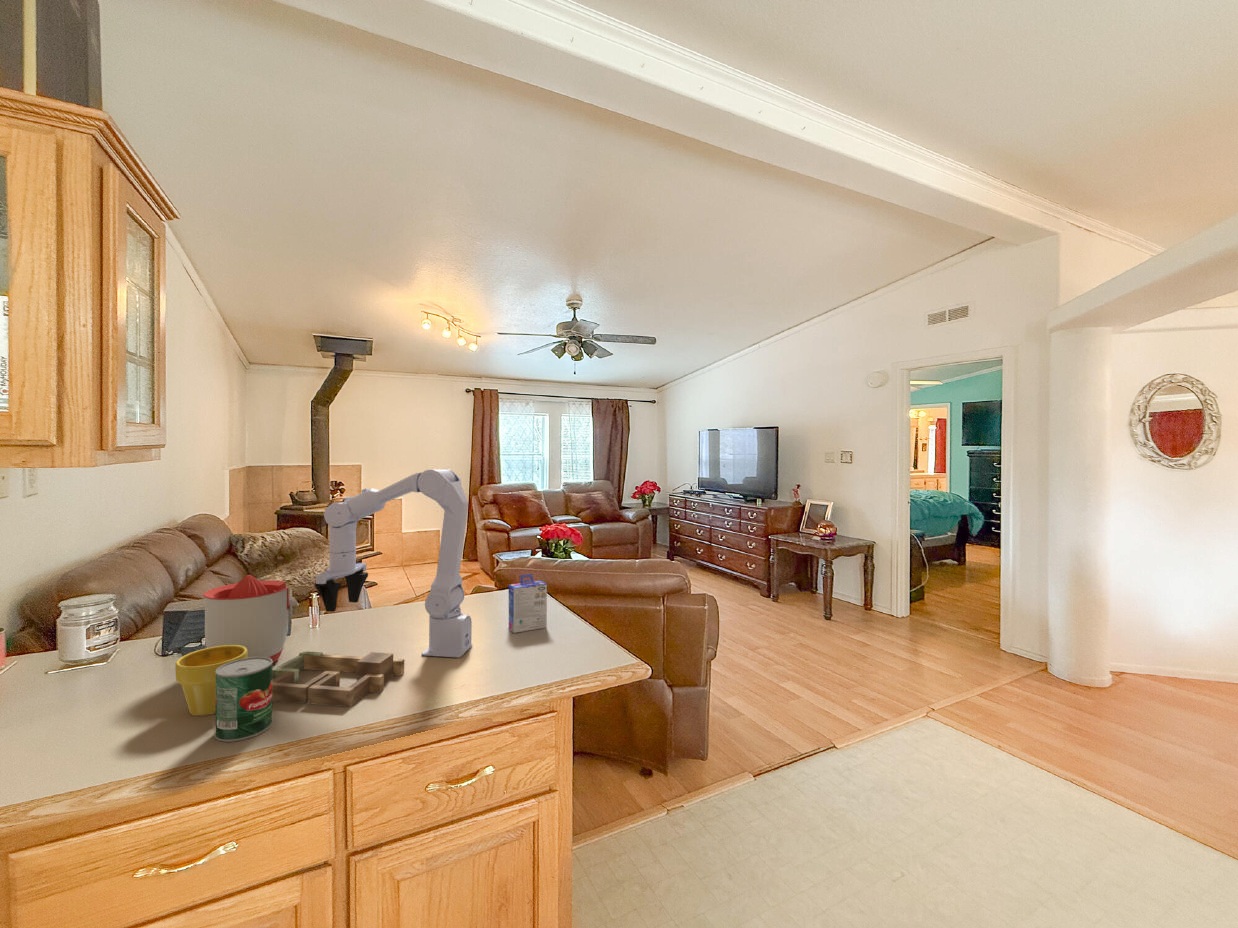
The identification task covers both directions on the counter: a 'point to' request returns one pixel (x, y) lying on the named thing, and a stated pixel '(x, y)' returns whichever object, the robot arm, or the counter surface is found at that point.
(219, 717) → the canned tomato
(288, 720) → the counter surface
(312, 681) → the trap lane
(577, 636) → the counter surface
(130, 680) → the counter surface
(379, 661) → the walnut block
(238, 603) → the citrus juicer
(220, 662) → the plant pot
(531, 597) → the ink cartridge box
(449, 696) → the counter surface
